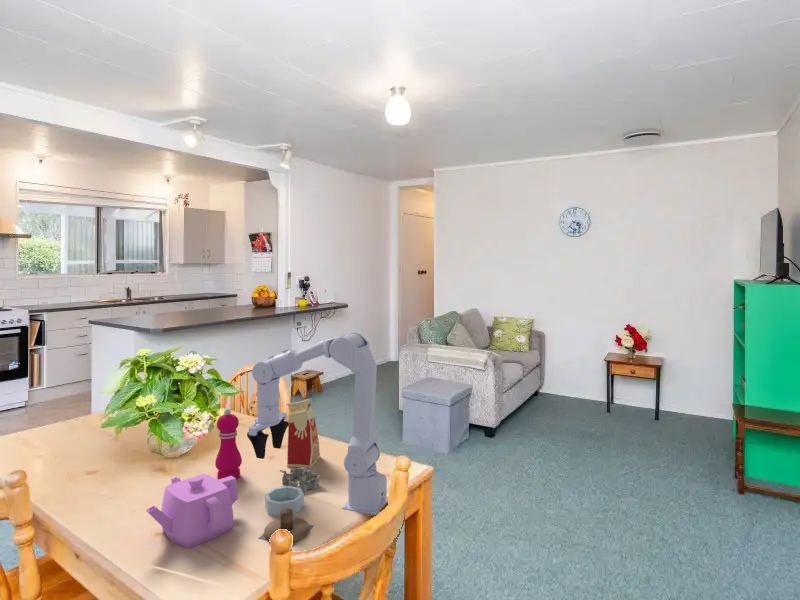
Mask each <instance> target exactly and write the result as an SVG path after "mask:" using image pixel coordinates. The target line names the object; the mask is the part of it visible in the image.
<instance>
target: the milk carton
mask: <svg viewBox="0 0 800 600" xmlns="http://www.w3.org/2000/svg"><path fill="white" fill-rule="evenodd" d="M310 399H311V398H307V399H304V400H301V401H297V402H290V403H286V405H287V406H288V422H289V425H288V427H287V453H286V454H287V457H286V460H287V463H286V466H287V467H292V468H293V467H294V468H300V467H306V468H307V467H308V468H307V469H310V468H313V466H314V465H315V464H316V463H317V461H318V460H319V459H320V457H321V453H320V440H319V434H318V427H317V422H316V418H315V414H314V409H313V407H312V404H311V403H310ZM319 456H320V457H319ZM317 459H318V460H317ZM316 460H317V461H316ZM314 463H315V464H314ZM313 464H314V465H313Z"/></svg>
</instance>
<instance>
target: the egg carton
mask: <svg viewBox="0 0 800 600" xmlns="http://www.w3.org/2000/svg"><path fill="white" fill-rule="evenodd" d="M279 472H281V473H282V474H283V475H282V478H281V484H282V485H283V486H292V487H298V488H301V490H302V492H303V493H306V492H307V491H308V490H311V489H310V488H313V490H316V489H318V486H319V478H320V476H321V474H318V473H317V474H316V472H314V471H313V470H310V469H309V468H306V467H295V469H290V471H289V472H287V470H282V469H280V470H279ZM294 478H298V479H299V480H295V479H294ZM317 485H318V486H317ZM307 489H308V490H307Z"/></svg>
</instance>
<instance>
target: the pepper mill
mask: <svg viewBox="0 0 800 600" xmlns="http://www.w3.org/2000/svg"><path fill="white" fill-rule="evenodd" d="M223 412H224V414H222V415H220V416H219V417H218V418H217V421H216V428H217V429H218V438H219V439H220V445H219V449H218V452H217V454H216V457H215V465H214V466H215V468H216V469H217V472H216V474H217V475H216V476H217V478H216V479H217V480H219V479H222V478H226V477H229V476H233V477H234V478H236V480H237V479H239V478H240V476H241V468H240V466H241V465H242V463H243V462H242V461H243V460H242V459H243V458H242V456H241V453H240V450H239V448H238V446H237V442H236V440H237V439H236V437H237V435H238V430H237V429H238V427H239V425H240V422H239V418H238V416H237V415H236V414H233V413H231V412H232V411H231V409H229V408H226V409H224V411H223Z"/></svg>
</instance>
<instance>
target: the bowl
mask: <svg viewBox="0 0 800 600" xmlns="http://www.w3.org/2000/svg"><path fill="white" fill-rule="evenodd" d="M304 506H305V494H304V492H302V490H301V488H298V487H292V486H289V485H283V486H279V487H273V488H272V489H270V490H269V491H268V492H267V493H265V494H264V507H265V510H266V512H267V514H268V515H272V516H277V517H280V511H281V510H283V509H292V510H293V515H294V514H295V515H296V514H297V513H298V512H299V511H300V510H301V509H303V508H304Z"/></svg>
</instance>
